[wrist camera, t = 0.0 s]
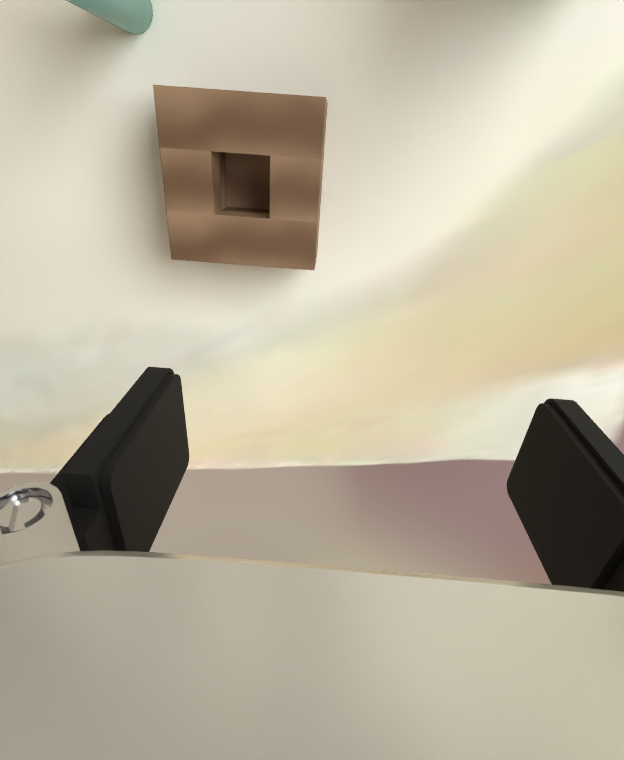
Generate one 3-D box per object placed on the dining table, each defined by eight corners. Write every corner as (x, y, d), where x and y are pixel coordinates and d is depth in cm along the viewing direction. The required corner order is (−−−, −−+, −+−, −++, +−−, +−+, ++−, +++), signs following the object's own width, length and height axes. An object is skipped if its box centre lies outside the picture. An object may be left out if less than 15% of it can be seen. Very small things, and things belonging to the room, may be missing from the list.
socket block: (178, 92, 34) (153, 84, 29) (327, 102, 34) (325, 97, 29) (191, 244, 40) (171, 259, 35) (317, 254, 40) (314, 270, 35)
